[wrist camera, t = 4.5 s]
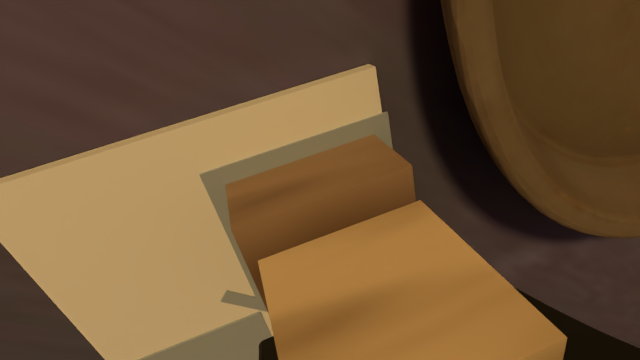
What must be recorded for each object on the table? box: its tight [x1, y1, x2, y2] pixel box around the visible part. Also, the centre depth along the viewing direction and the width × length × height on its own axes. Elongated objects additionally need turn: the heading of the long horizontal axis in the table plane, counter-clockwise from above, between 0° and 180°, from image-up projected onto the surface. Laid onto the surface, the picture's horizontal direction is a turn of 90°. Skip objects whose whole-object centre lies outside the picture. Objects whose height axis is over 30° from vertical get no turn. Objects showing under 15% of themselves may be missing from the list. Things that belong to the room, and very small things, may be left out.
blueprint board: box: [0, 64, 393, 360], centre depth 17 cm, size 18×14×1 cm
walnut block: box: [225, 134, 416, 314], centre depth 14 cm, size 6×6×3 cm
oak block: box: [258, 200, 567, 360], centre depth 9 cm, size 5×5×5 cm
